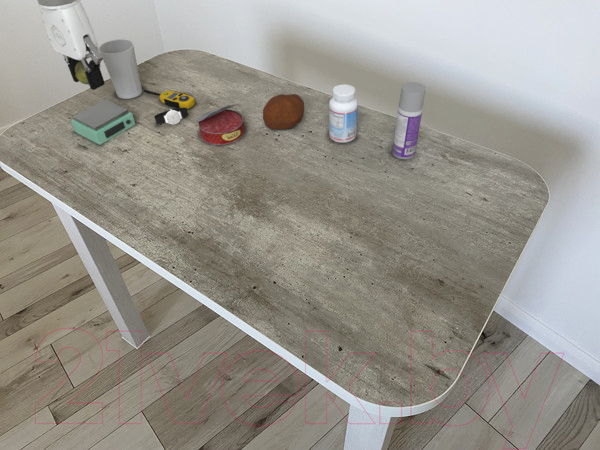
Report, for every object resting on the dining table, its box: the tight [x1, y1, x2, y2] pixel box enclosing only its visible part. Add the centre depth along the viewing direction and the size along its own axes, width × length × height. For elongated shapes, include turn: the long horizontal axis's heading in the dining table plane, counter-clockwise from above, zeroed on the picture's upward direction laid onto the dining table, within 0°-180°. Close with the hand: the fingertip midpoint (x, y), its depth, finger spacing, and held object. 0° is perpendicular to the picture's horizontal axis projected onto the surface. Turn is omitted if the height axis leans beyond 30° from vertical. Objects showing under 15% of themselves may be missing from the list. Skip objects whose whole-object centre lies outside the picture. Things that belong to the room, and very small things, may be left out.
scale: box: [70, 111, 136, 146], centre depth 110 cm, size 10×9×3 cm
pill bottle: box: [328, 83, 359, 144], centre depth 102 cm, size 6×6×11 cm
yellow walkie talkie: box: [143, 89, 196, 110], centre depth 119 cm, size 5×2×15 cm
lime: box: [75, 61, 90, 86], centre depth 101 cm, size 4×5×5 cm
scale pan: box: [72, 99, 130, 131], centre depth 108 cm, size 9×8×1 cm
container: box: [391, 81, 426, 160], centre depth 96 cm, size 5×5×15 cm
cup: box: [98, 38, 143, 100], centre depth 118 cm, size 8×8×12 cm
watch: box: [154, 108, 189, 125], centre depth 111 cm, size 8×5×4 cm, turn 118°
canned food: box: [196, 103, 245, 146], centre depth 106 cm, size 11×10×10 cm
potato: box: [262, 93, 305, 131], centre depth 107 cm, size 8×11×8 cm
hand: (89, 82), depth 103 cm, fingers closed on lime, 5 cm apart
